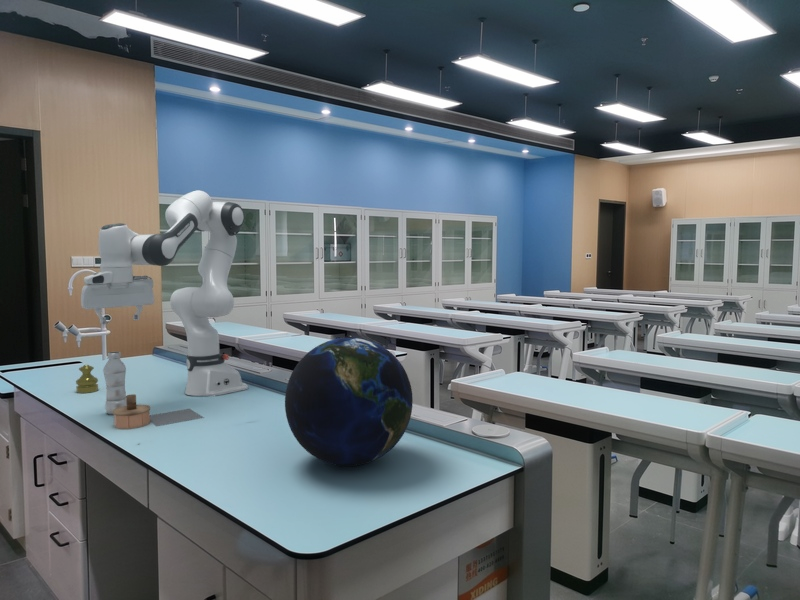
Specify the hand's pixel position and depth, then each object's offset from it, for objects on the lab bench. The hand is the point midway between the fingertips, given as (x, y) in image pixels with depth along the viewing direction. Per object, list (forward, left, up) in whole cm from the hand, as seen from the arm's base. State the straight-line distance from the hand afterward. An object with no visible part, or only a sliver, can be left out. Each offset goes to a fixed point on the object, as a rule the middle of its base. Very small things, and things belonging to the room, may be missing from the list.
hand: (120, 321), depth 176 cm
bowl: (0, +11, -30) cm, 32 cm away
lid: (0, +11, -26) cm, 28 cm away
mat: (-12, +11, -30) cm, 34 cm away
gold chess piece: (+2, -50, -31) cm, 59 cm away
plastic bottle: (+1, -6, -30) cm, 31 cm away
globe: (-33, +78, -30) cm, 90 cm away
